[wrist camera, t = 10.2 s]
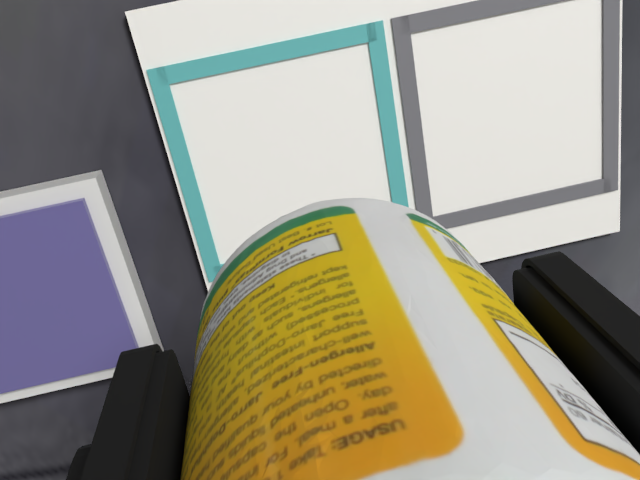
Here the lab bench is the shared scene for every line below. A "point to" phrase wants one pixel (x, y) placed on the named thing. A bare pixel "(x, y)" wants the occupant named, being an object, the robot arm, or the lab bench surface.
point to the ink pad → (65, 288)
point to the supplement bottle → (381, 363)
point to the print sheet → (390, 114)
